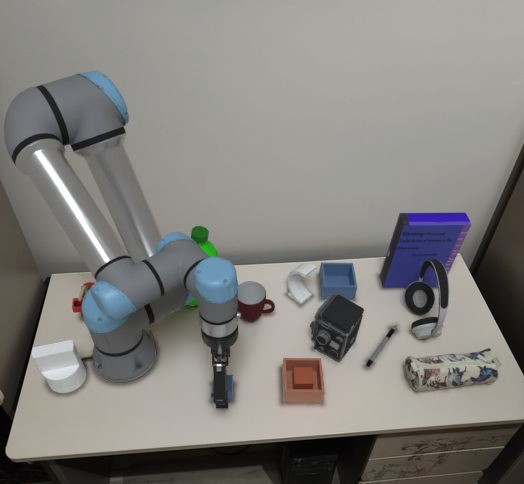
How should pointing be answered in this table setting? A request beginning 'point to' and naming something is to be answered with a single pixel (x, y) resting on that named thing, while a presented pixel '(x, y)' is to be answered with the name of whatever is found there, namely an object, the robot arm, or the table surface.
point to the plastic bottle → (202, 246)
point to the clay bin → (302, 394)
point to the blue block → (228, 386)
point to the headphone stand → (299, 282)
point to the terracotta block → (302, 378)
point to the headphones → (428, 301)
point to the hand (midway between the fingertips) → (223, 380)
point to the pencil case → (451, 370)
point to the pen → (381, 346)
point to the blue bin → (337, 280)
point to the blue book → (422, 246)
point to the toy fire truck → (81, 297)
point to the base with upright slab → (60, 365)
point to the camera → (336, 326)
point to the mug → (253, 301)
